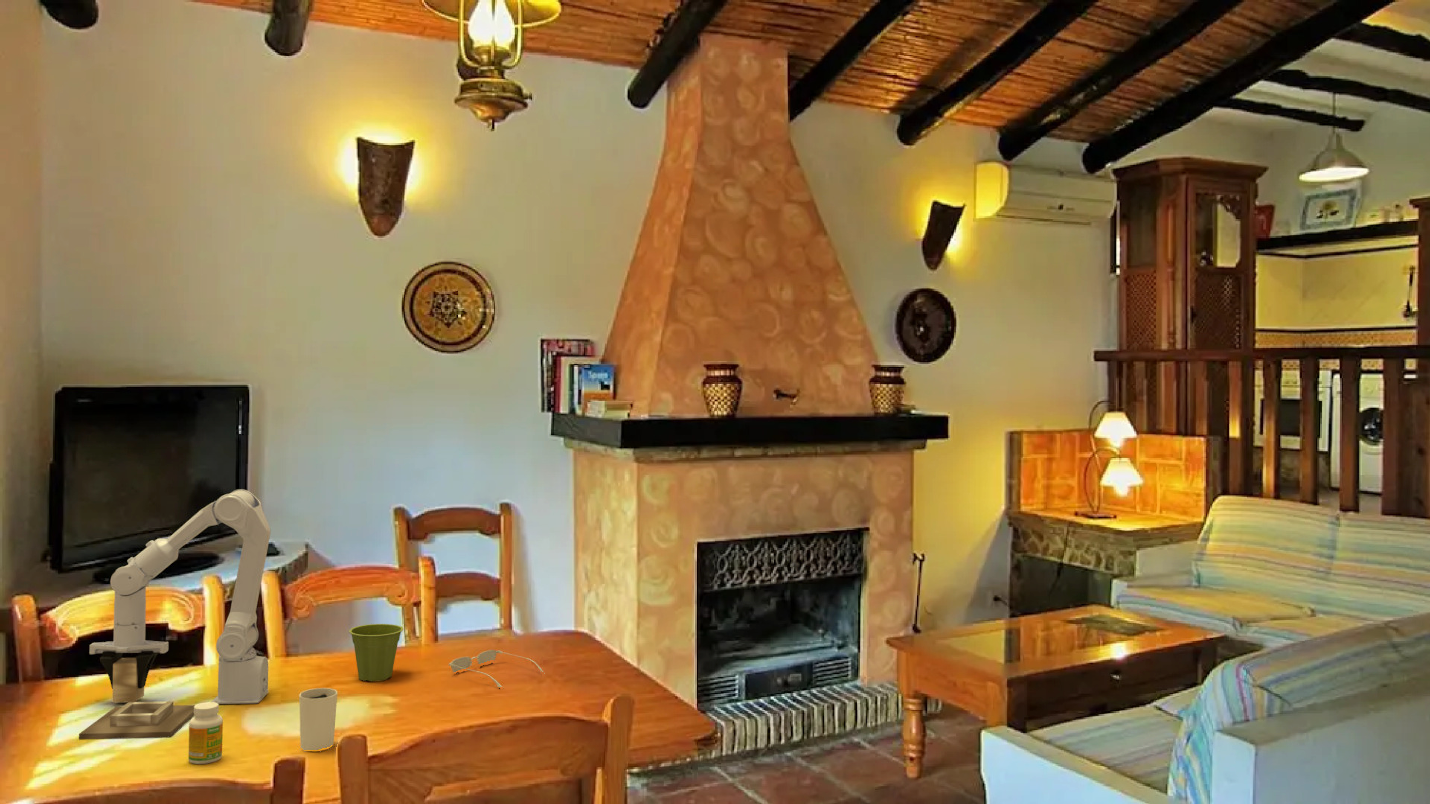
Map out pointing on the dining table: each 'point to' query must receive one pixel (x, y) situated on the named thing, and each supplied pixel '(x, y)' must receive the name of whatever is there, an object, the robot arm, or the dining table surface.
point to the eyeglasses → (482, 657)
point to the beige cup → (317, 718)
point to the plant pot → (375, 650)
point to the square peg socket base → (140, 721)
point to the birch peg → (126, 681)
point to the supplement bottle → (205, 734)
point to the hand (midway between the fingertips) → (128, 687)
